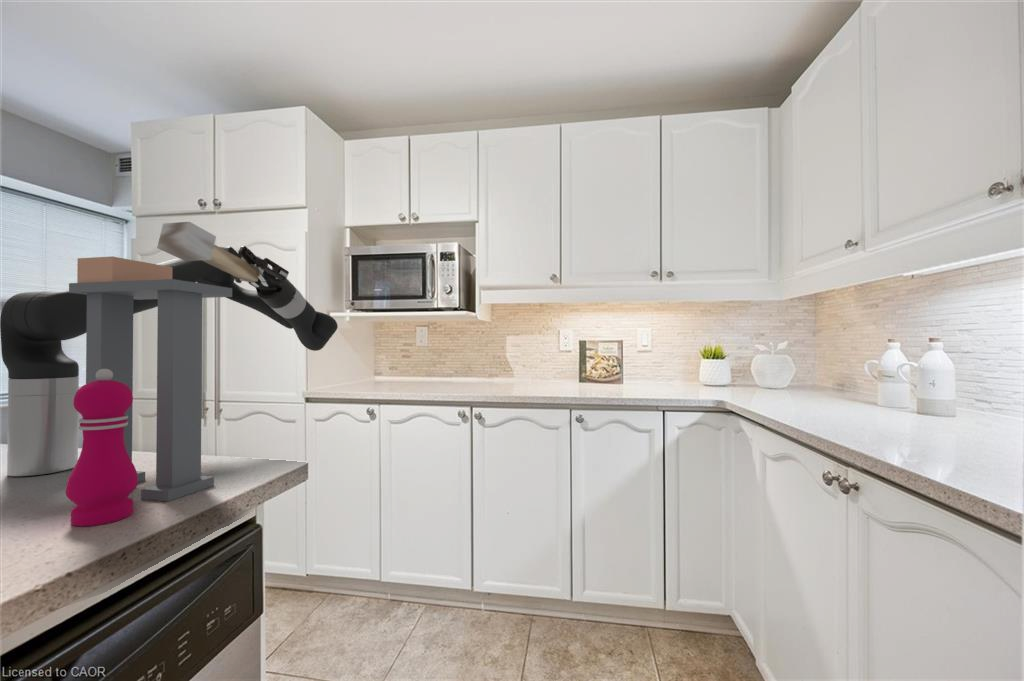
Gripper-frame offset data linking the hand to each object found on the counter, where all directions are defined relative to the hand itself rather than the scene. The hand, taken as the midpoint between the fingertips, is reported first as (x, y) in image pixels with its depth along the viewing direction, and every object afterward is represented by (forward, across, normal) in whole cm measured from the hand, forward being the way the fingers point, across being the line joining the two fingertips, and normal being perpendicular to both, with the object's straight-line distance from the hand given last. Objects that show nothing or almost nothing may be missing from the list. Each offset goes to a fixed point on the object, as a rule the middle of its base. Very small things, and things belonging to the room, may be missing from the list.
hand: (234, 249), depth 99 cm
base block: (+14, 0, +20) cm, 25 cm away
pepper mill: (+8, +13, +56) cm, 58 cm away
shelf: (-3, +6, +49) cm, 49 cm away
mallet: (+2, 0, +7) cm, 7 cm away
